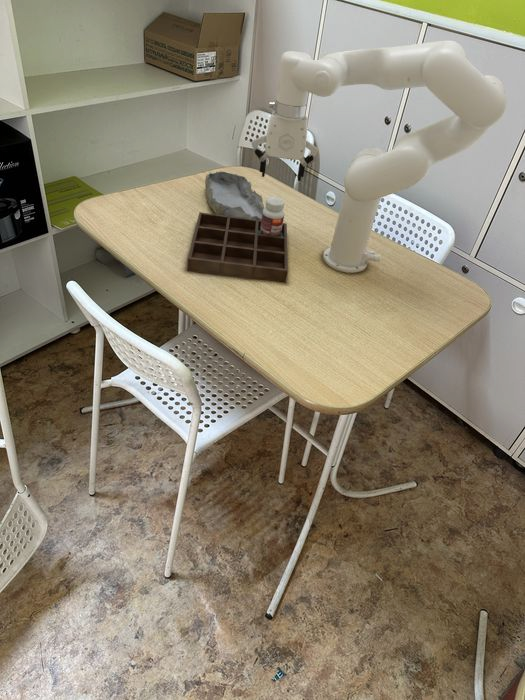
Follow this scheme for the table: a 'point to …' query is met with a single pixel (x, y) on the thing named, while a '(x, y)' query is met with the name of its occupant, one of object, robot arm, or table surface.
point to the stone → (233, 196)
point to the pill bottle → (272, 217)
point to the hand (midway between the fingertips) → (281, 177)
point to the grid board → (237, 249)
